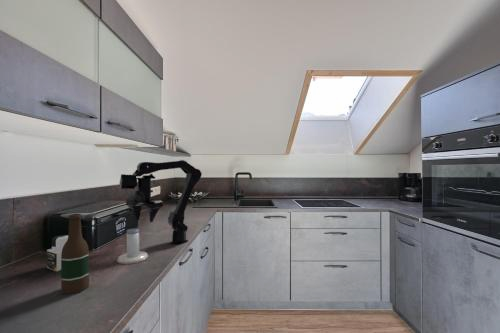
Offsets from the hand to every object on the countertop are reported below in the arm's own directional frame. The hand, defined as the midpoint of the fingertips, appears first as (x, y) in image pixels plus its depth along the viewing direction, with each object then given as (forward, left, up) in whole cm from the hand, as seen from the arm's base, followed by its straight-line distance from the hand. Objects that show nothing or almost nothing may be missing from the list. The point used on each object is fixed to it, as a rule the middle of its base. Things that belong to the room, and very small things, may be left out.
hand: (144, 221), depth 118 cm
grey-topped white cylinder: (+11, +6, -12) cm, 17 cm away
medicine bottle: (+29, -12, -13) cm, 34 cm away
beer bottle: (+37, +12, -13) cm, 41 cm away
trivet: (+11, +6, -13) cm, 18 cm away
